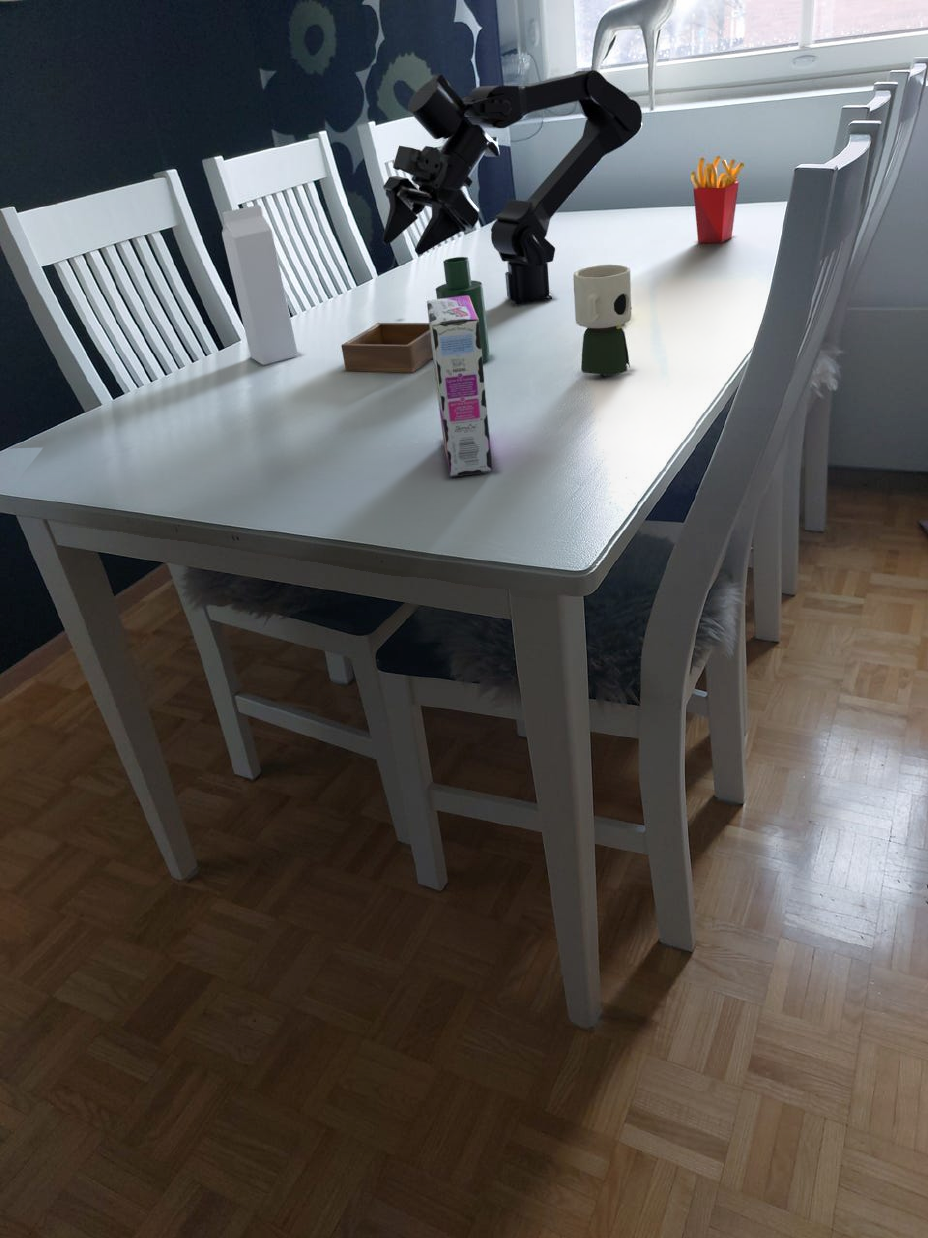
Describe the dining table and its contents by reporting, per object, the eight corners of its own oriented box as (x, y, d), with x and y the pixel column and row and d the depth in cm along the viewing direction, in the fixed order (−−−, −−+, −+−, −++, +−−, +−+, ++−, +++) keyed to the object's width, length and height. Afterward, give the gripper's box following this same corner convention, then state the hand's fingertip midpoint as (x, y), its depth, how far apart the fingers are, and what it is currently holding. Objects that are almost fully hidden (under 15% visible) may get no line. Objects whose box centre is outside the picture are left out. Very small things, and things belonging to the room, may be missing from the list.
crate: (382, 347, 147) (378, 322, 145) (446, 348, 143) (443, 322, 141) (345, 370, 139) (340, 344, 137) (412, 372, 134) (408, 346, 132)
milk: (298, 356, 149) (268, 206, 137) (262, 365, 146) (228, 213, 135) (285, 348, 153) (254, 202, 141) (250, 357, 151) (216, 210, 139)
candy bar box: (496, 472, 101) (480, 318, 92) (450, 479, 101) (429, 325, 92) (485, 435, 111) (469, 292, 102) (443, 441, 111) (423, 298, 102)
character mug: (620, 387, 119) (617, 281, 112) (566, 386, 122) (560, 282, 115) (642, 360, 127) (641, 259, 120) (591, 359, 130) (587, 260, 123)
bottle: (485, 351, 139) (474, 251, 132) (493, 363, 134) (483, 260, 126) (442, 358, 138) (429, 259, 131) (449, 370, 133) (436, 267, 126)
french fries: (705, 235, 188) (707, 152, 180) (745, 235, 184) (749, 150, 176) (686, 245, 182) (687, 160, 174) (727, 246, 178) (730, 158, 170)
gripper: (389, 118, 145) (334, 204, 146) (461, 127, 132) (400, 222, 133) (433, 168, 153) (381, 250, 154) (505, 182, 141) (447, 271, 141)
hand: (400, 247), depth 145 cm, fingers open, 9 cm apart
